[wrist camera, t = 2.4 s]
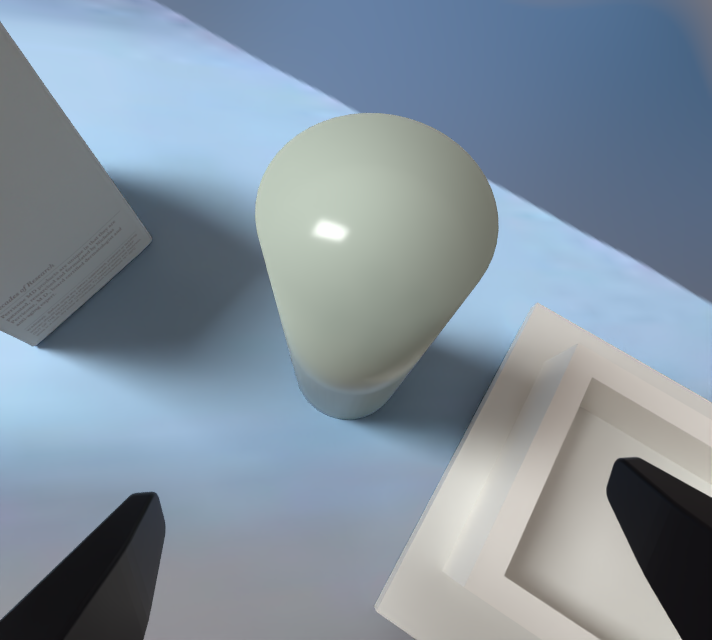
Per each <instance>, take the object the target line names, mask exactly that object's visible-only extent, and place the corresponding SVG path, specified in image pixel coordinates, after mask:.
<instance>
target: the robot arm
mask: <svg viewBox="0 0 712 640" xmlns="http://www.w3.org/2000/svg"><path fill="white" fill-rule="evenodd" d="M606 494H607V498H608V501H609V503H610V505H611V507H612V510H613V512H614V514H615V516H616V518H617V520H618V522H619V524H620V526H621V529H622V531H623V533H624V535H625V537H626V539H627V541H628V543H629V545H630V548H631V550H632V552H633V554H634V556H635V558H636V560H637V562H638V564H639V566H640V568H641V570H642V572H643V574H644V576H645V578H646V579H647V581H648V583H649V585H650V586H651V588H652V590H653V592H654V593H655V595H656V597H657V598H658V600H659V602H660V603H661V605H662V607H663V609H664V610H665V612H666V614H667V615H668V617H669V619H670V620H671V622H672V624H673V625H674V627H675V629H676V631H677V632H678V634H679V636H680V637H681V639H682V640H712V497H710V496H708V495H706V494H705V493H703V492H701V491H699V490H697V489H696V488H694V487H692V486H690V485H688V484H687V483H685V482H683V481H681V480H679V479H678V478H676V477H674V476H672V475H670V474H669V473H667V472H665V471H663V470H661V469H660V468H658V467H656V466H654V465H652V464H650V463H649V462H647V461H645V460H643V459H641V458H639V457H624V458H618V459H617V460H616V461H615V462H614V464H613V467H612V471H611V474H610V477H609V480H608V483H607V487H606ZM164 538H165V520H164V516H163V512H162V508H161V504H160V501H159V497H158V495H157V494H156V493H155V492H141V493H134V494H132V495H130V496H129V497H128V498H127V499H126V500H125V501H124V502H123V503H122V504H121V505H120V506H119V507H118V508H117V509H116V510H115V511H113V512H112V513H111V514H110V515H109V516H108V517H107V518H106V519H105V520H104V521H103V522H102V523H101V524H100V525H99V526H98V527H97V528H96V529H95V530H94V531H93V532H92V533H91V534H90V535H88V536H87V537H86V538H85V539H84V540H83V541H82V542H81V543H80V544H79V545H78V546H77V547H76V548H75V549H74V550H73V551H72V552H71V553H70V554H69V555H68V556H67V557H66V558H65V559H63V560H62V561H61V562H60V563H59V564H58V565H57V566H56V567H55V568H54V569H53V570H52V571H51V572H50V573H49V574H48V575H47V576H46V577H45V578H44V579H43V580H42V581H41V582H40V583H39V584H37V585H36V586H35V587H34V588H33V589H32V590H31V591H30V592H29V593H28V594H27V595H26V596H25V597H24V598H23V599H22V600H21V601H20V602H19V603H18V604H17V605H16V606H15V607H14V608H12V609H11V610H10V611H9V612H8V613H7V614H6V615H5V616H4V617H3V618H2V619H1V620H0V640H143V639H144V635H145V632H146V628H147V624H148V620H149V616H150V611H151V606H152V601H153V596H154V590H155V585H156V580H157V575H158V569H159V564H160V559H161V554H162V548H163V543H164Z"/></svg>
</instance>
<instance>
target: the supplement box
mask: <svg viewBox="0 0 712 640" xmlns="http://www.w3.org/2000/svg"><path fill="white" fill-rule="evenodd" d="M151 241H152V237H151V235H150V234H149V232H148V231H147V229H146V228H145V227H144V225H143V224H142V222H141V221H140V219H139V218H138V216H137V215H136V214H135V212H134V211H133V209H132V208H131V206H130V205H129V204H128V202H127V201H126V199H125V198H124V197H123V195H122V194H121V192H120V191H119V190H118V188H117V187H116V185H115V184H114V182H113V181H112V180H111V178H110V177H109V175H108V174H107V172H106V171H105V170H104V168H103V167H102V165H101V164H100V162H99V161H98V160H97V158H96V157H95V155H94V154H93V153H92V151H91V150H90V148H89V147H88V146H87V144H86V143H85V141H84V140H83V139H82V137H81V136H80V134H79V133H78V132H77V130H76V129H75V127H74V126H73V124H72V123H71V122H70V120H69V119H68V117H67V116H66V115H65V113H64V112H63V110H62V109H61V107H60V106H59V105H58V103H57V102H56V100H55V99H54V98H53V96H52V95H51V93H50V92H49V90H48V89H47V88H46V86H45V85H44V83H43V82H42V80H41V79H40V78H39V76H38V75H37V73H36V72H35V70H34V69H33V68H32V66H31V65H30V63H29V62H28V60H27V59H26V58H25V56H24V55H23V53H22V52H21V50H20V49H19V48H18V46H17V45H16V43H15V42H14V40H13V39H12V38H11V36H10V35H9V33H8V32H7V30H6V29H5V28H4V26H3V25H2V23H1V22H0V331H2V332H5V333H7V334H9V335H11V336H13V337H15V338H17V339H19V340H21V341H23V342H25V343H27V344H29V345H31V346H36V345H38V344H39V343H40V342H41V341H42V340H43V339H45V338H46V337H47V336H48V335H49V334H50V333H51V332H52V331H54V330H55V329H56V328H57V327H58V326H59V325H60V324H61V323H63V322H64V321H65V320H66V319H67V318H68V317H69V316H70V315H72V314H73V313H74V312H75V311H76V310H77V309H78V308H79V307H81V306H82V305H83V304H84V303H85V302H86V301H87V300H88V299H90V298H91V297H92V296H93V295H94V294H95V293H96V292H97V291H99V290H100V289H101V288H102V287H103V286H104V285H105V284H106V283H108V282H109V281H110V280H111V279H112V278H113V277H114V276H115V275H116V274H117V273H119V272H120V271H121V270H122V269H123V268H124V267H125V266H126V265H127V264H129V263H130V262H131V261H132V260H133V259H134V258H135V257H137V256H138V255H139V254H140V253H141V252H142V251H143V250H144V249H145V248H146V247H147V246H148V245H149V244H150V243H151Z"/></svg>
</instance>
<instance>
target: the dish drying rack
mask: <svg viewBox="0 0 712 640" xmlns="http://www.w3.org/2000/svg"><path fill="white" fill-rule="evenodd" d="M624 457H639V458H641V459H643V460H645V461H647V462H649V463H650V464H652V465H654V466H656V467H658V468H660V469H661V470H663V471H665V472H667V473H669V474H670V475H672V476H674V477H676V478H678V479H679V480H681V481H683V482H685V483H687V484H688V485H690V486H692V487H694V488H696V489H697V490H699V491H701V492H703V493H705V494H706V495H708V496H710V497H712V402H710V401H708V400H707V399H705V398H703V397H701V396H700V395H698V394H696V393H694V392H693V391H691V390H689V389H687V388H686V387H684V386H682V385H680V384H679V383H677V382H675V381H673V380H672V379H670V378H668V377H666V376H665V375H663V374H661V373H659V372H658V371H656V370H654V369H652V368H651V367H649V366H647V365H645V364H644V363H642V362H640V361H638V360H637V359H635V358H633V357H631V356H630V355H628V354H626V353H625V352H623V351H621V350H619V349H618V348H616V347H614V346H612V345H611V344H609V343H607V342H605V341H604V340H602V339H600V338H598V337H597V336H595V335H593V334H591V333H590V332H588V331H586V330H584V329H583V328H581V327H579V326H577V325H576V324H574V323H572V322H570V321H569V320H567V319H565V318H563V317H562V316H560V315H558V314H556V313H555V312H553V311H551V310H549V309H548V308H546V307H544V306H542V305H541V304H539V303H536V304H535V305H534V306H533V307H532V308H530V310H529V312H528V314H527V316H526V318H525V320H524V322H523V324H522V326H521V327H520V329H519V331H518V333H517V335H516V337H515V339H514V341H513V343H512V345H511V346H510V348H509V350H508V352H507V354H506V356H505V358H504V360H503V362H502V364H501V365H500V367H499V369H498V371H497V373H496V375H495V377H494V379H493V381H492V383H491V385H490V386H489V388H488V390H487V392H486V394H485V396H484V398H483V400H482V402H481V404H480V405H479V407H478V409H477V411H476V413H475V415H474V417H473V419H472V421H471V423H470V425H469V426H468V428H467V430H466V432H465V434H464V436H463V438H462V440H461V442H460V444H459V445H458V447H457V449H456V451H455V453H454V455H453V457H452V459H451V461H450V463H449V464H448V466H447V468H446V470H445V472H444V474H443V476H442V478H441V480H440V482H439V484H438V485H437V487H436V489H435V491H434V493H433V495H432V497H431V499H430V501H429V503H428V504H427V506H426V508H425V510H424V512H423V514H422V516H421V518H420V520H419V522H418V523H417V525H416V527H415V529H414V531H413V533H412V535H411V537H410V539H409V541H408V543H407V544H406V546H405V548H404V550H403V552H402V554H401V556H400V558H399V560H398V562H397V563H396V565H395V567H394V569H393V571H392V573H391V575H390V577H389V579H388V581H387V583H386V584H385V586H384V588H383V590H382V592H381V594H380V596H379V598H378V600H377V602H376V603H375V605H374V607H375V610H376V612H378V613H379V614H381V615H382V616H384V617H385V618H386V619H388V620H389V621H391V622H392V623H393V624H395V625H396V626H398V627H399V628H401V629H402V630H403V631H405V632H406V633H408V634H409V635H411V636H412V637H413V638H415V639H416V640H682V639H681V637H680V636H679V634H678V632H677V631H676V629H675V627H674V625H673V624H672V622H671V620H670V619H669V617H668V615H667V614H666V612H665V610H664V609H663V607H662V605H661V603H660V602H659V600H658V598H657V597H656V595H655V593H654V592H653V590H652V588H651V586H650V585H649V583H648V581H647V579H646V578H645V576H644V574H643V572H642V570H641V568H640V566H639V564H638V562H637V560H636V558H635V556H634V554H633V552H632V550H631V548H630V545H629V543H628V541H627V539H626V537H625V535H624V533H623V531H622V529H621V526H620V524H619V522H618V520H617V518H616V516H615V514H614V512H613V510H612V507H611V505H610V503H609V501H608V498H607V494H606V487H607V483H608V480H609V477H610V474H611V471H612V467H613V464H614V462H615V461H616V460H617V459H618V458H624Z"/></svg>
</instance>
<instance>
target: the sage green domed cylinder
mask: <svg viewBox="0 0 712 640" xmlns="http://www.w3.org/2000/svg"><path fill="white" fill-rule="evenodd" d="M255 220H256V228H257V234H258V237H259V241H260V245H261V249H262V252H263V256H264V260H265V263H266V267H267V271H268V275H269V278H270V282H271V286H272V289H273V293H274V297H275V301H276V304H277V308H278V312H279V315H280V319H281V323H282V327H283V330H284V334H285V338H286V341H287V345H288V349H289V352H290V356H291V360H292V364H293V367H294V371H295V375H296V378H297V382H298V385H299V388H300V390H301V392H302V394H303V395H304V397H305V398H306V399H307V401H308V402H309V403H310V404H311V405H312V406H313V407H314V408H316V409H317V410H318V411H320V412H322V413H324V414H326V415H328V416H331V417H334V418H338V419H357V418H362V417H365V416H368V415H370V414H372V413H374V412H376V411H377V410H379V409H380V408H381V407H382V406H383V405H385V403H386V402H387V401H388V400H389V399H390V398H391V396H392V395H393V394H394V392H395V391H396V390H397V388H398V387H399V386H400V384H401V383H402V382H403V380H404V379H405V378H406V377H407V375H408V374H409V373H410V371H411V370H412V369H413V367H414V366H415V365H416V363H417V362H418V361H419V360H420V358H421V357H422V356H423V354H424V353H425V352H426V350H427V349H428V348H429V346H430V345H431V344H432V342H433V341H434V340H435V339H436V337H437V336H438V335H439V333H440V332H441V331H442V329H443V328H444V327H445V325H446V324H447V323H448V322H449V320H450V319H451V318H452V316H453V315H454V314H455V312H456V311H457V310H458V308H459V307H460V306H461V305H462V303H463V302H464V301H465V299H466V298H467V297H468V295H469V294H470V293H471V291H472V290H473V289H474V287H475V286H476V285H477V284H478V282H479V281H480V279H481V278H482V276H483V275H484V273H485V272H486V270H487V268H488V266H489V264H490V262H491V260H492V257H493V254H494V251H495V247H496V244H497V237H498V212H497V207H496V202H495V198H494V195H493V192H492V189H491V187H490V185H489V183H488V181H487V179H486V177H485V175H484V174H483V172H482V171H481V169H480V167H479V166H478V165H477V163H476V162H475V161H474V160H473V159H472V158H471V156H470V155H469V154H468V153H467V152H466V151H465V150H463V148H462V147H460V145H458V144H457V143H456V142H454V141H453V140H452V139H450V138H449V137H448V136H446V135H444V134H443V133H441V132H439V131H438V130H436V129H434V128H432V127H430V126H427V125H425V124H423V123H421V122H418V121H415V120H412V119H409V118H404V117H400V116H396V115H390V114H381V113H360V114H350V115H345V116H340V117H335V118H332V119H329V120H326V121H323V122H321V123H318V124H316V125H314V126H312V127H310V128H308V129H306V130H305V131H303V132H301V133H300V134H298V135H297V136H295V137H294V138H293V139H292V140H290V141H289V142H288V143H287V144H286V145H285V146H284V147H283V148H282V149H281V150H280V151H279V152H278V153H277V154H276V156H275V157H274V158H273V160H272V161H271V163H270V164H269V166H268V167H267V169H266V171H265V173H264V175H263V177H262V180H261V183H260V186H259V189H258V193H257V199H256V207H255Z"/></svg>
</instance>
